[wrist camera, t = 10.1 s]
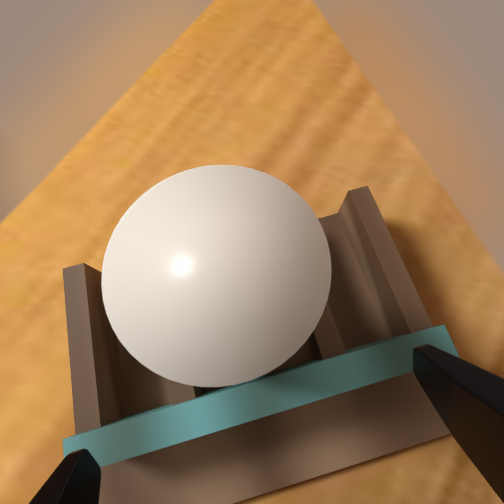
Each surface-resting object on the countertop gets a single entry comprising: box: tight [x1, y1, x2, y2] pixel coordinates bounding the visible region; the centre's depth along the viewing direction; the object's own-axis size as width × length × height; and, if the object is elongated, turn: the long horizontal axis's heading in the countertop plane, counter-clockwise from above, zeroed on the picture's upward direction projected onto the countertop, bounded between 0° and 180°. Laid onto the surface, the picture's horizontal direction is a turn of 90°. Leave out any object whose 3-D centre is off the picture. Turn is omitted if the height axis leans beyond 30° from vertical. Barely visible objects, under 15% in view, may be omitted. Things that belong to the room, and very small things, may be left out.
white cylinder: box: [101, 165, 332, 387], centre depth 13 cm, size 5×5×13 cm
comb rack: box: [63, 186, 460, 504], centre depth 17 cm, size 20×14×5 cm
